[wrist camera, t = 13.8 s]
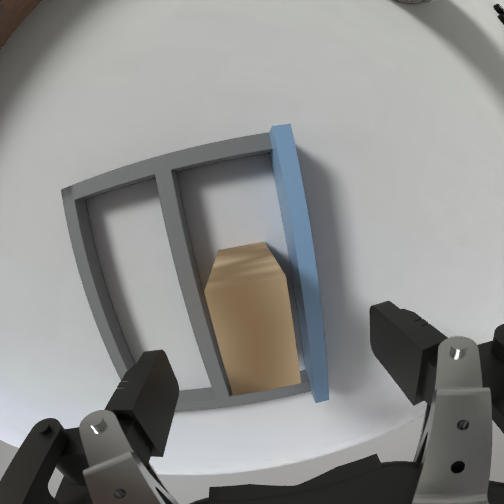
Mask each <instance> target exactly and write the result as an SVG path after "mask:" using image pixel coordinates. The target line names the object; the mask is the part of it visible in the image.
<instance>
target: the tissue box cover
mask: <svg viewBox="0 0 504 504" xmlns="http://www.w3.org/2000/svg"><path fill="white" fill-rule="evenodd" d="M40 1H41V0H0V49H1V47H2V46H3V45H4V43H5V42H6V41H7V39H8V38H9V37H10V35H11V34H12V33H13V32H14V30H15V29H16V28H17V27H18V25H19V24H20V23H21V22H22V21H23V19H24V18H25V17H26V16H27V15H28V14H29V13H30V12H31V10H32V9H33V8H34V7H35V6H36V5H37V4H38V3H39V2H40Z"/></svg>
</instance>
